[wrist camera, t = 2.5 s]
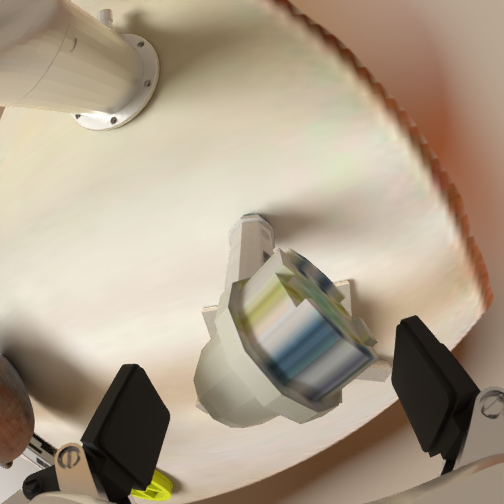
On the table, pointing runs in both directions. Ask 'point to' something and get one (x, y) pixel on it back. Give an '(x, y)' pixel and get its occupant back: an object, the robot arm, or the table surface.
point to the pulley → (156, 488)
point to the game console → (39, 453)
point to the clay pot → (13, 414)
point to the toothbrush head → (278, 336)
